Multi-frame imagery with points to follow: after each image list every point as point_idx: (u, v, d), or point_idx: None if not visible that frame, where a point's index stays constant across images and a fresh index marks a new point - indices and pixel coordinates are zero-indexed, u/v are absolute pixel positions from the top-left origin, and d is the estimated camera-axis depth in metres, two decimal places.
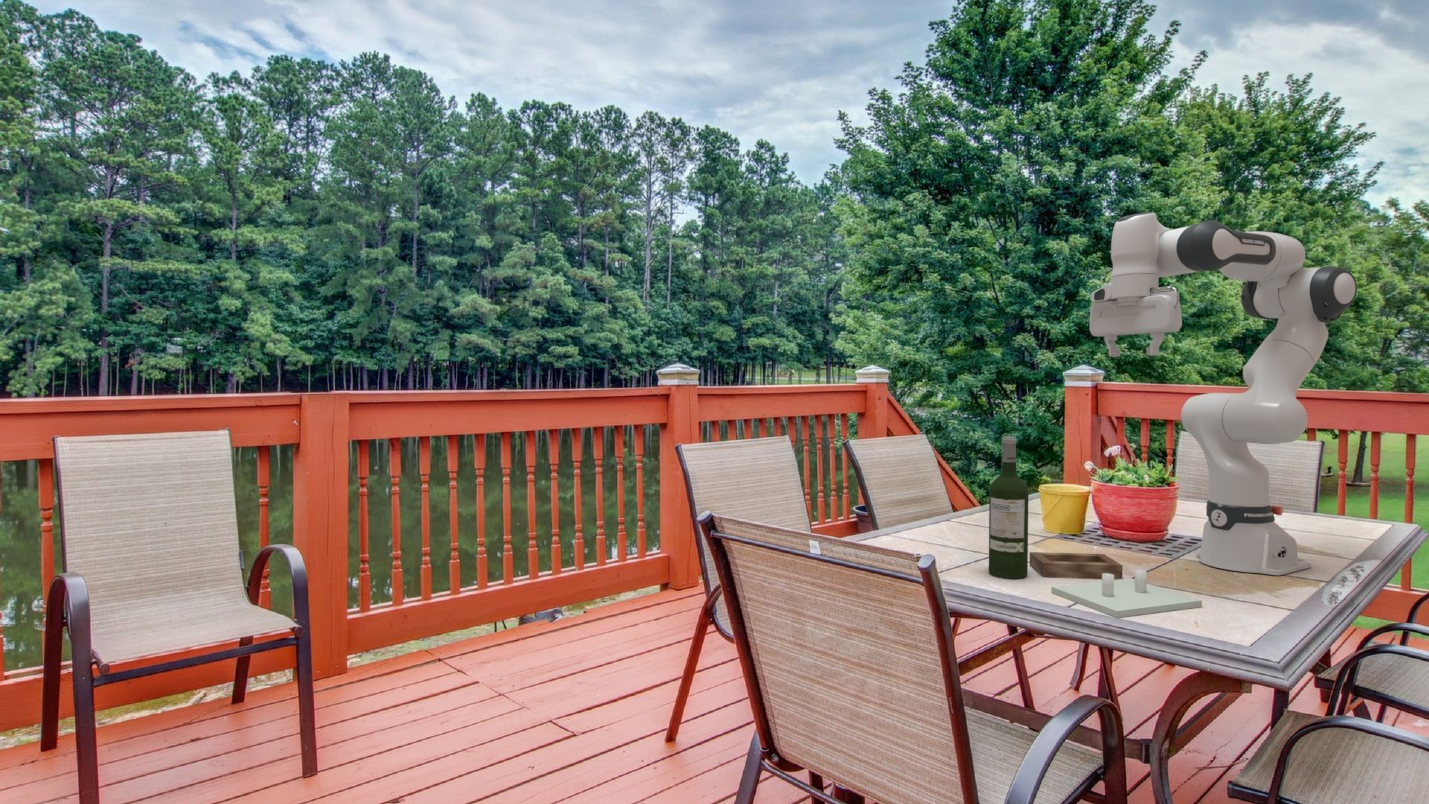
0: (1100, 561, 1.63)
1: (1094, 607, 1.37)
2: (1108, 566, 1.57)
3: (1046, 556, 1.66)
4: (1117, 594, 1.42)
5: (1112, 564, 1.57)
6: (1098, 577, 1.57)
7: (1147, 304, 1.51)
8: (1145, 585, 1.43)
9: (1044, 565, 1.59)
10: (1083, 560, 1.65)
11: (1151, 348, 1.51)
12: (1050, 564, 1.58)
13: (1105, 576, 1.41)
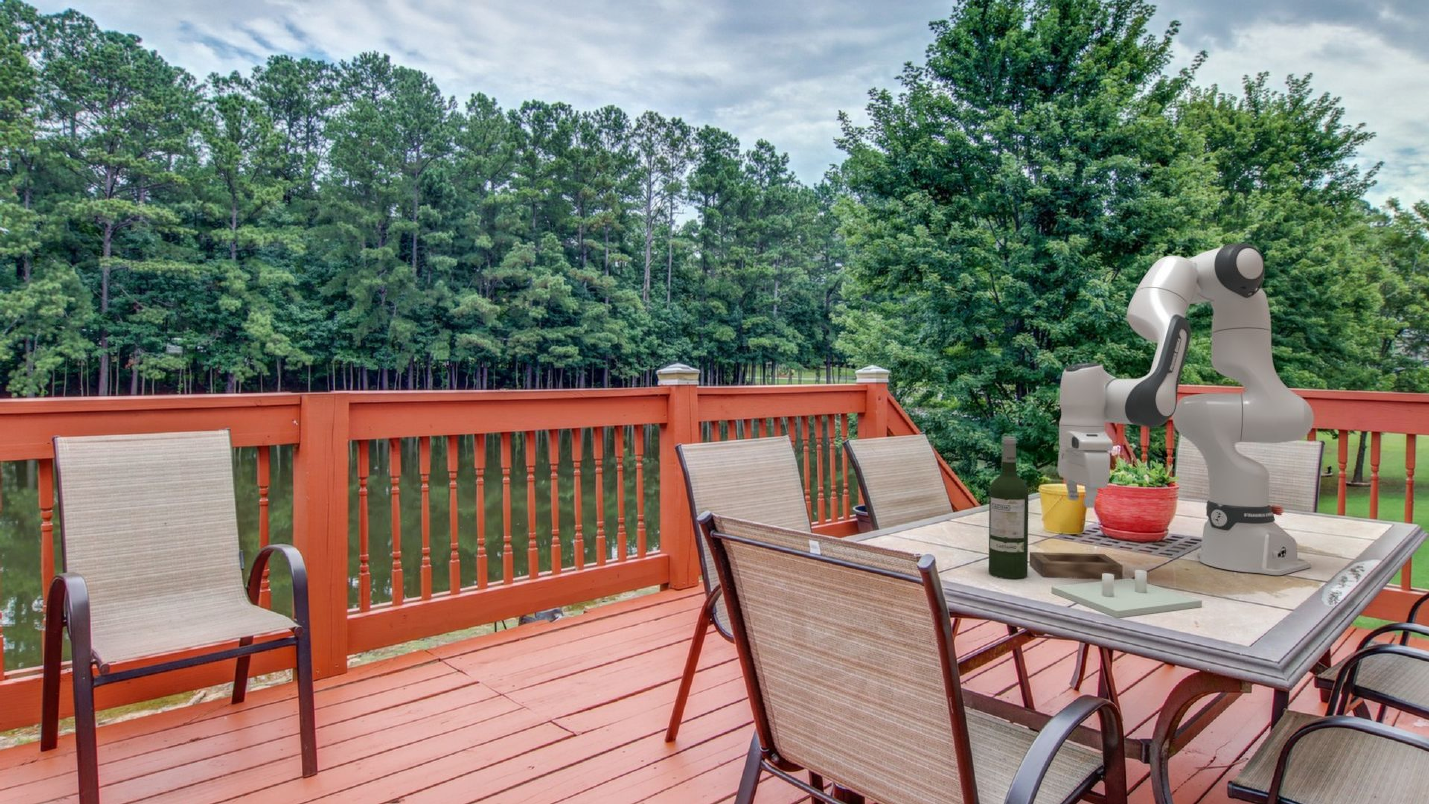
0: (1100, 561, 1.63)
1: (1094, 607, 1.37)
2: (1108, 566, 1.57)
3: (1046, 556, 1.66)
4: (1117, 594, 1.42)
5: (1112, 564, 1.57)
6: (1098, 577, 1.57)
7: None
8: (1145, 585, 1.43)
9: (1044, 565, 1.59)
10: (1083, 560, 1.65)
11: None
12: (1050, 564, 1.58)
13: (1105, 576, 1.41)
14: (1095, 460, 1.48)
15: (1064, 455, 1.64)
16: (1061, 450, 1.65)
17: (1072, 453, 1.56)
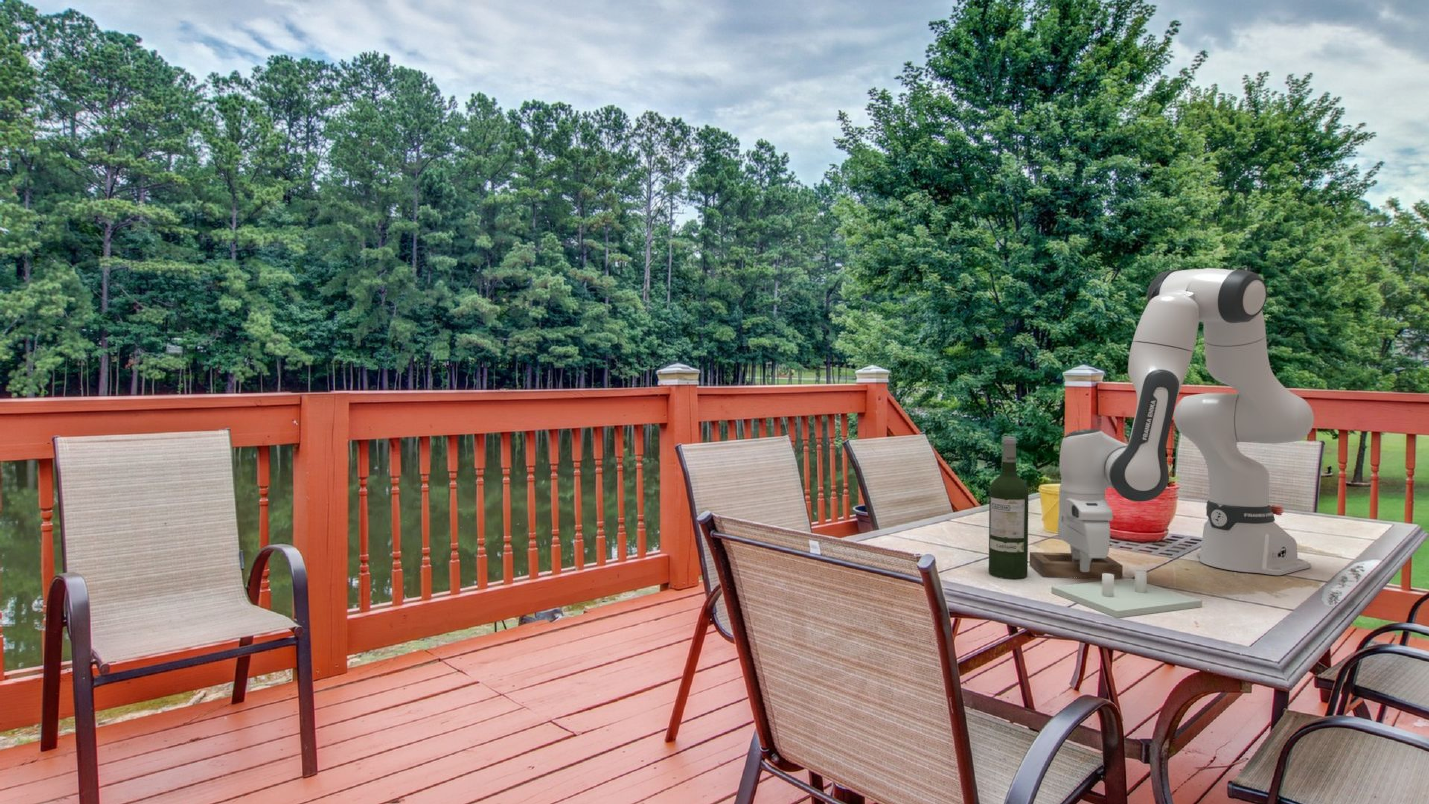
0: (1100, 561, 1.63)
1: (1094, 607, 1.37)
2: (1108, 566, 1.57)
3: (1046, 556, 1.66)
4: (1117, 594, 1.42)
5: (1112, 564, 1.57)
6: (1098, 577, 1.57)
7: None
8: (1145, 585, 1.43)
9: (1044, 565, 1.59)
10: None
11: None
12: (1050, 564, 1.58)
13: (1105, 576, 1.41)
14: (1095, 531, 1.49)
15: (1064, 518, 1.64)
16: (1061, 513, 1.65)
17: (1072, 520, 1.57)
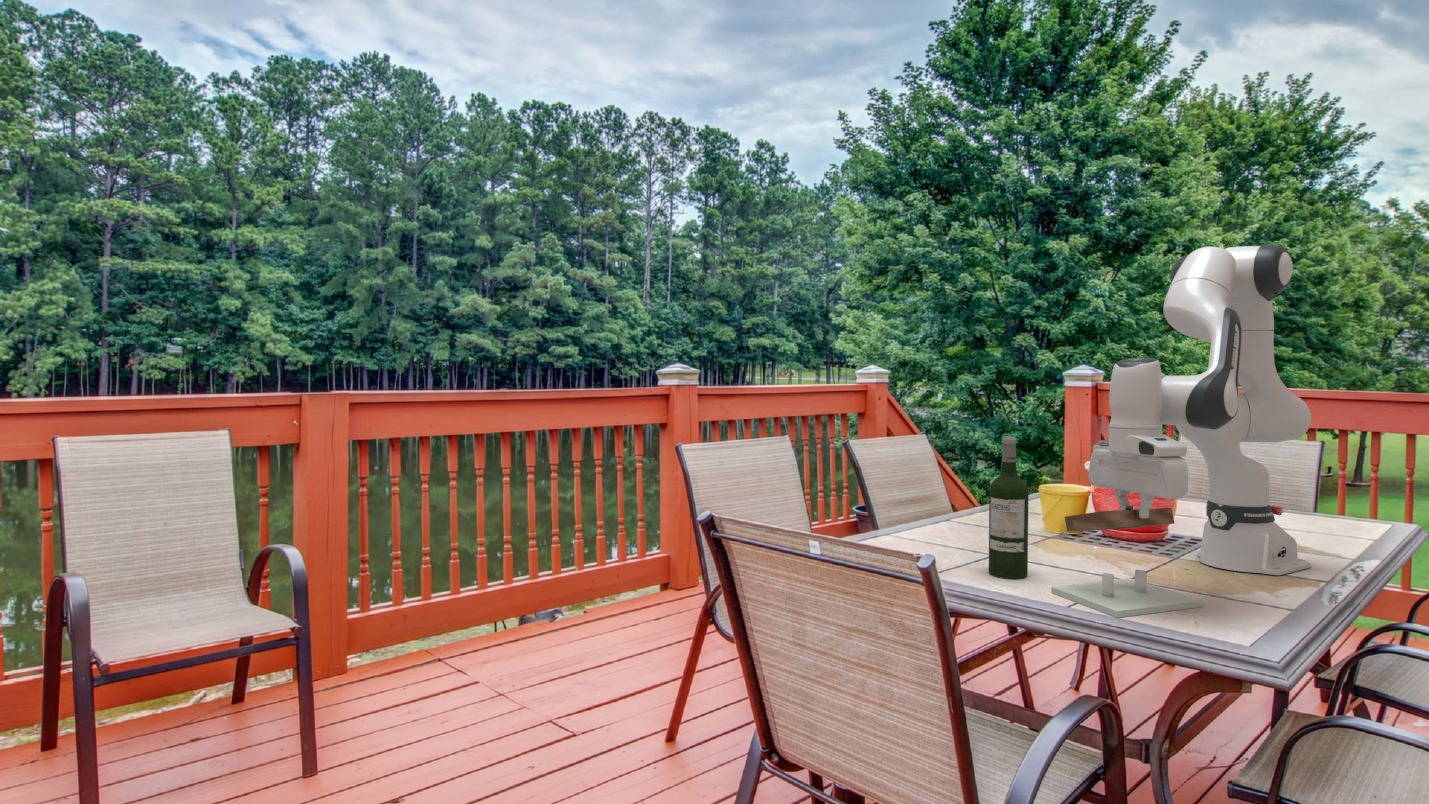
0: None
1: (1094, 607, 1.37)
2: (1159, 509, 1.41)
3: None
4: (1117, 594, 1.42)
5: None
6: (1153, 523, 1.40)
7: None
8: (1145, 585, 1.43)
9: (1103, 513, 1.38)
10: None
11: None
12: (1108, 512, 1.38)
13: (1105, 576, 1.41)
14: (1175, 468, 1.31)
15: (1103, 462, 1.46)
16: (1098, 456, 1.47)
17: (1132, 460, 1.38)
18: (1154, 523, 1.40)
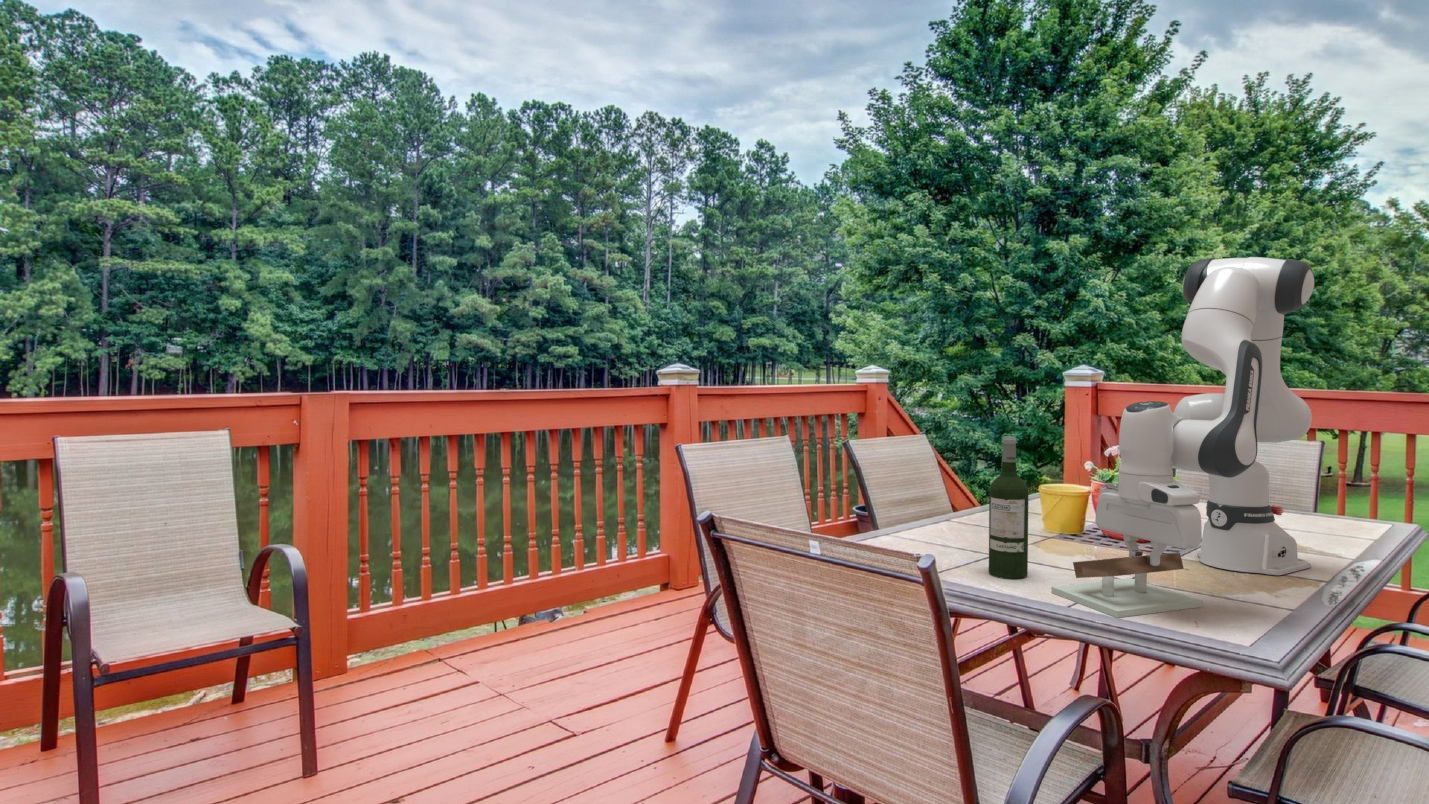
0: None
1: (1094, 607, 1.37)
2: (1169, 555, 1.39)
3: None
4: (1117, 594, 1.42)
5: None
6: (1163, 569, 1.38)
7: None
8: (1145, 585, 1.43)
9: (1115, 561, 1.35)
10: None
11: None
12: (1120, 559, 1.35)
13: None
14: (1189, 517, 1.29)
15: (1111, 506, 1.43)
16: (1106, 500, 1.44)
17: (1143, 507, 1.35)
18: (1164, 569, 1.38)
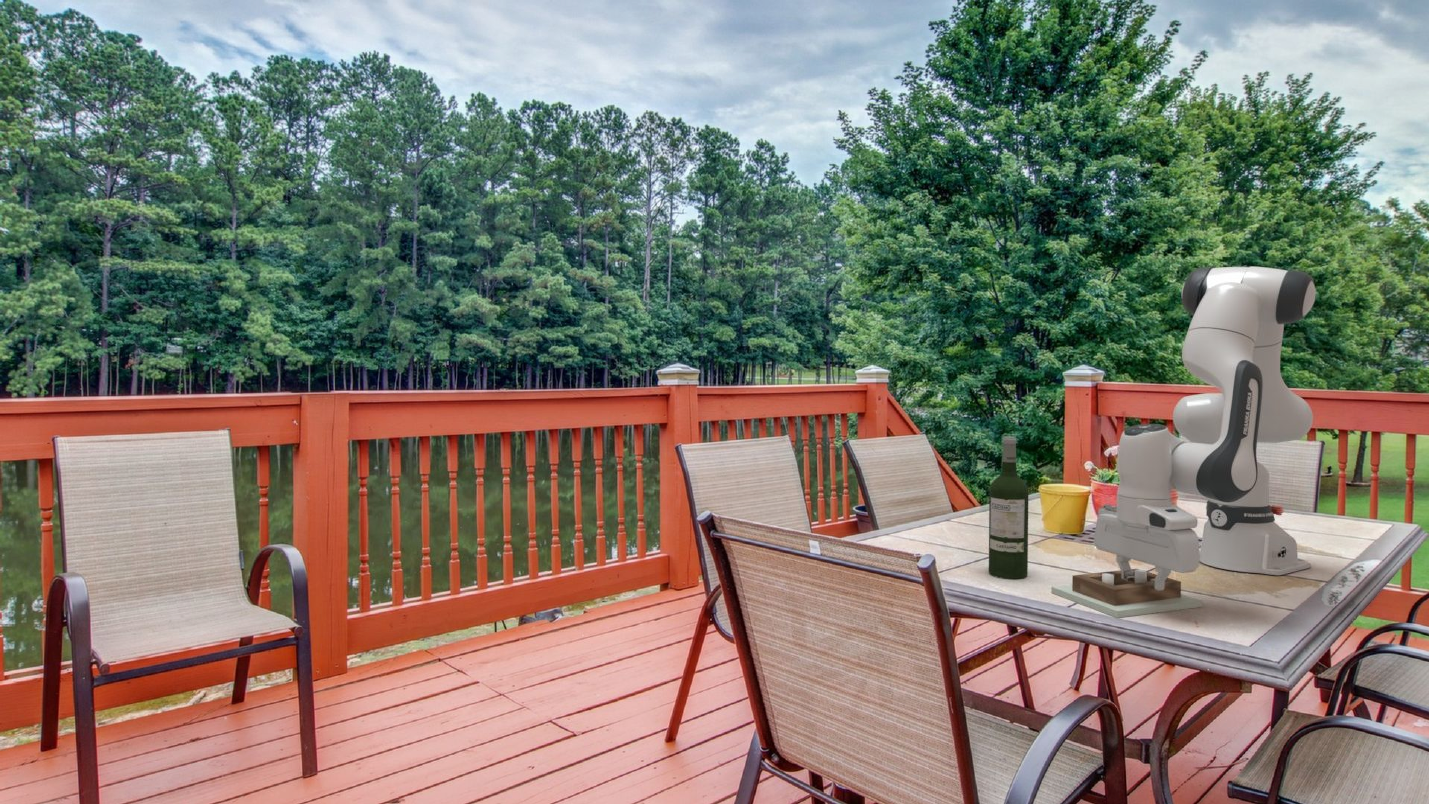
0: None
1: (1094, 607, 1.37)
2: (1169, 584, 1.39)
3: (1093, 579, 1.43)
4: None
5: (1170, 581, 1.40)
6: (1161, 598, 1.38)
7: None
8: None
9: (1115, 592, 1.35)
10: None
11: None
12: (1120, 590, 1.35)
13: (1105, 576, 1.41)
14: (1186, 542, 1.29)
15: (1110, 527, 1.44)
16: (1105, 521, 1.45)
17: (1141, 530, 1.36)
18: (1162, 598, 1.38)
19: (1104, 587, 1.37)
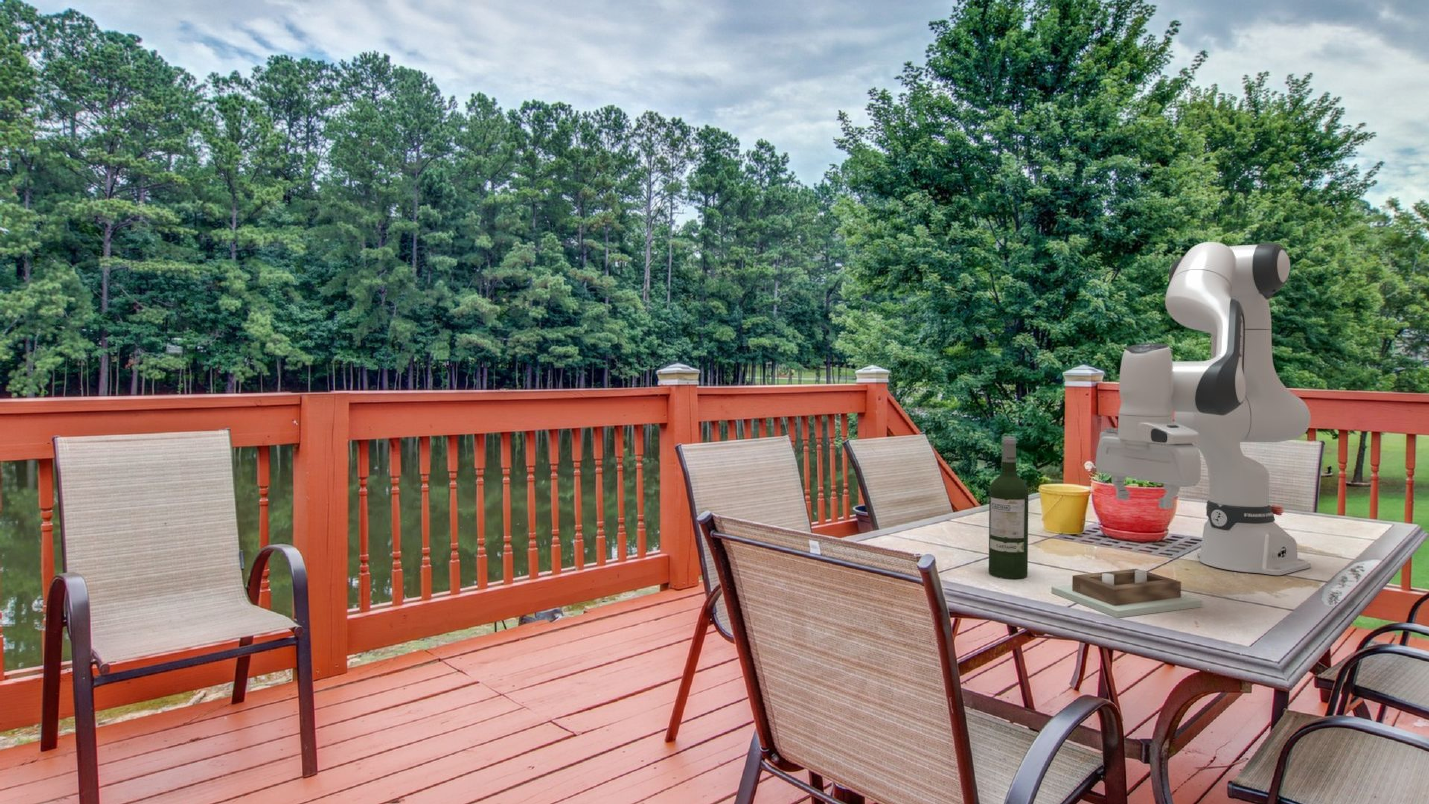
0: None
1: (1094, 607, 1.37)
2: (1169, 584, 1.39)
3: (1093, 579, 1.43)
4: None
5: (1170, 581, 1.40)
6: (1161, 598, 1.38)
7: None
8: None
9: (1115, 592, 1.35)
10: (1124, 578, 1.46)
11: None
12: (1120, 590, 1.35)
13: (1105, 576, 1.41)
14: (1188, 455, 1.29)
15: (1111, 449, 1.44)
16: (1106, 444, 1.45)
17: (1142, 448, 1.36)
18: (1162, 598, 1.38)
19: (1104, 587, 1.37)
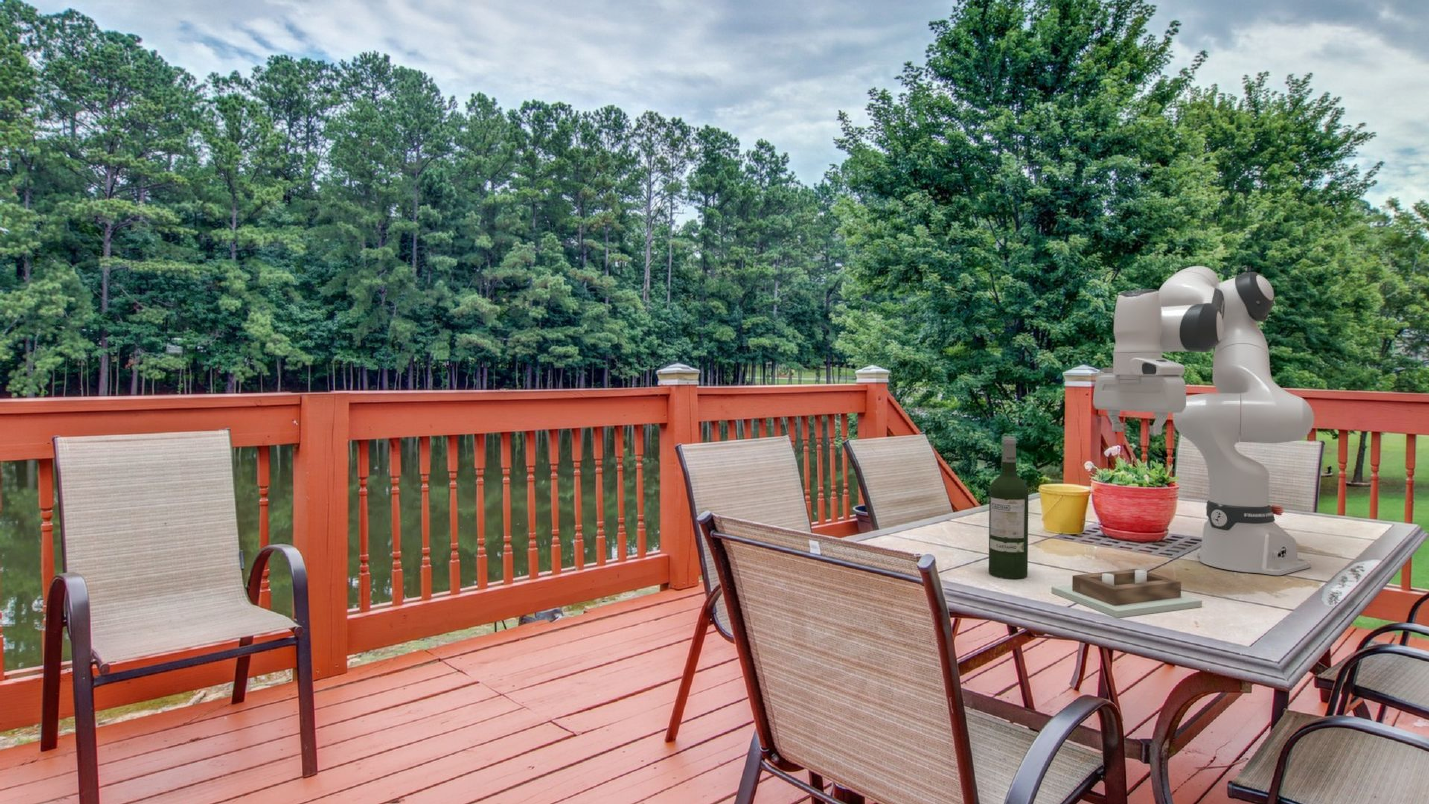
0: None
1: (1094, 607, 1.37)
2: (1169, 584, 1.39)
3: (1093, 579, 1.43)
4: None
5: (1170, 581, 1.40)
6: (1161, 598, 1.38)
7: None
8: None
9: (1115, 592, 1.35)
10: (1124, 578, 1.46)
11: None
12: (1120, 590, 1.35)
13: (1105, 576, 1.41)
14: (1175, 385, 1.45)
15: (1107, 386, 1.60)
16: (1102, 382, 1.61)
17: (1135, 381, 1.52)
18: (1162, 598, 1.38)
19: (1104, 587, 1.37)
